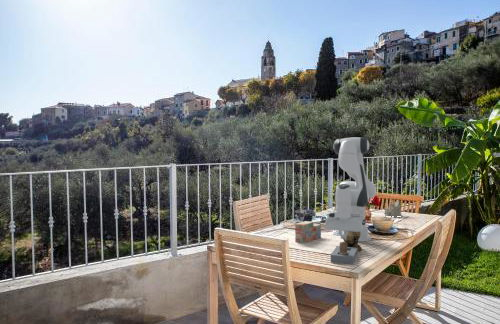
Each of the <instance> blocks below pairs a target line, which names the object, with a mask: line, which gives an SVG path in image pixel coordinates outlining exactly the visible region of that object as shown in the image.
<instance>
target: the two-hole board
mask: <svg viewBox="0 0 500 324" xmlns="http://www.w3.org/2000/svg"><path fill="white" fill-rule="evenodd" d="M339 252H340V245H336V246H335V248H334V249H333V251H332V252H331V254H330V263H337V264H345V265H354V263H355V262H356V259H357V257H358V253H359V252H358V248H354V247H347V255H340V253H339Z"/></svg>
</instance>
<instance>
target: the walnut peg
mask: <svg viewBox="0 0 500 324" xmlns="http://www.w3.org/2000/svg"><path fill="white" fill-rule="evenodd" d="M339 246H340V252H339V253H340V255H347V242H344V241H340V242H339Z"/></svg>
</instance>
